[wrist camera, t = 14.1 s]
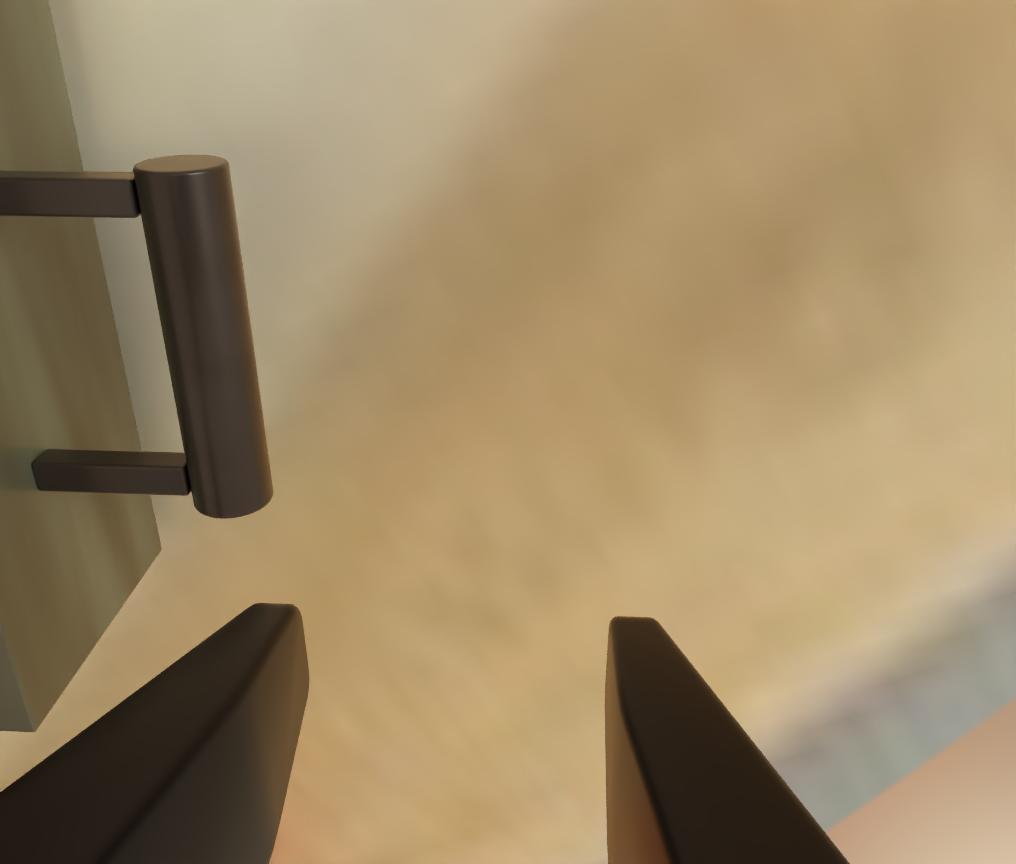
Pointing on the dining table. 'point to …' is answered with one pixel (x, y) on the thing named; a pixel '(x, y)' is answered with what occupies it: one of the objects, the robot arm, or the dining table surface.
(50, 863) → the robot arm
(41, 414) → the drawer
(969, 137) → the dining table surface
